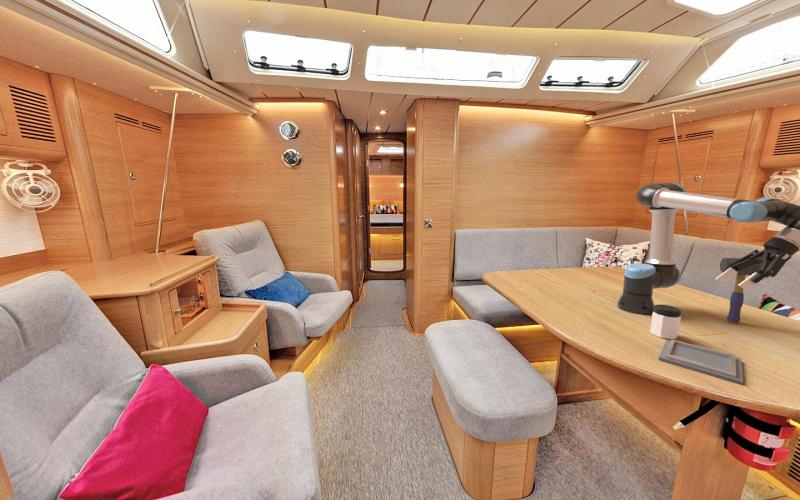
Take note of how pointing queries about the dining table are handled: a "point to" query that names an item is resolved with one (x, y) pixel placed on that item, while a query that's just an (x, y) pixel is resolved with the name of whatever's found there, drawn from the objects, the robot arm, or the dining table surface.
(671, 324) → the jar
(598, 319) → the dining table surface
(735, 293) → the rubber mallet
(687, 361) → the tray
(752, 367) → the dining table surface
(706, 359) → the board
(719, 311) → the dining table surface
